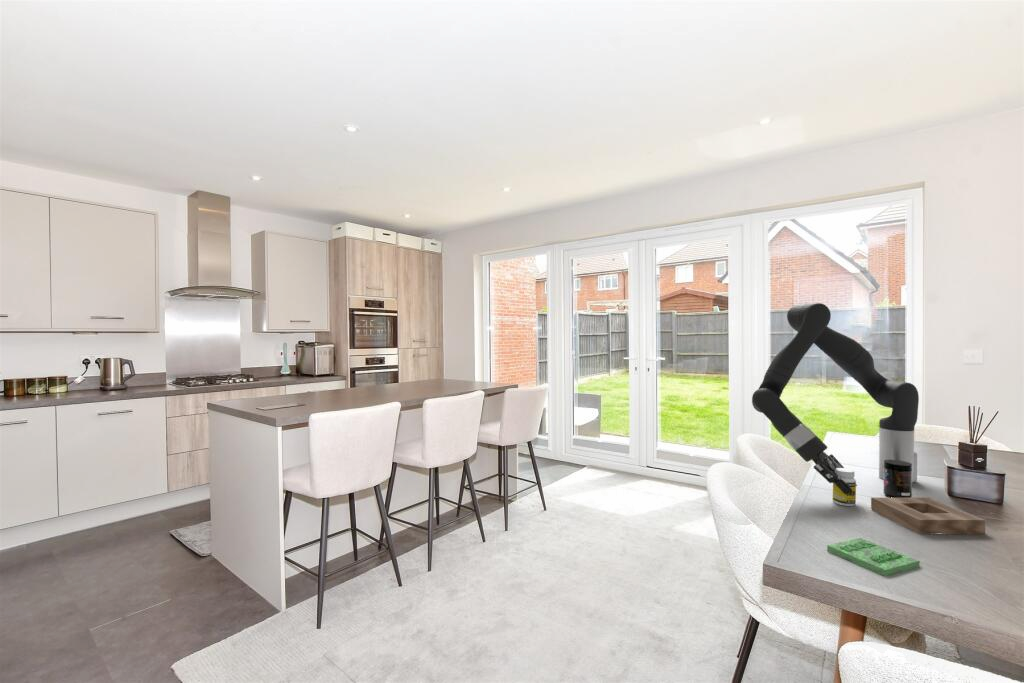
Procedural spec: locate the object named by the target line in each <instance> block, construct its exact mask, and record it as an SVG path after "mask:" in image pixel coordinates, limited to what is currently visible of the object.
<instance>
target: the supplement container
mask: <svg viewBox="0 0 1024 683" xmlns="http://www.w3.org/2000/svg"><path fill="white" fill-rule="evenodd" d="M912 489H913V483H912V464H911V463H909V462H905V461H900V460H884V479H883V494H884V496H886V497H888V496H889V497H888V498H890V497H892V498H913V490H912Z"/></svg>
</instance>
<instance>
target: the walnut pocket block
mask: <svg viewBox="0 0 1024 683" xmlns="http://www.w3.org/2000/svg"><path fill="white" fill-rule="evenodd" d="M871 509H872V510H873V512H874V511H875V512H874V513H876V512H877V513H876V514H878V513H879V515H880V514H881V515H880V516H882V515H883V517H884V516H885V517H884V518H886V517H887V518H886V519H888V518H889V519H888V520H890V519H891V520H890V521H892V520H893V522H894V521H895V523H896V522H897V524H898V523H899V524H898V525H900V526H902V527H904V526H905V527H904V528H907V529H909V530H911V531H912V530H913V531H912V532H915V533H917V534H918V535H935V534H934V533H945V534H944V535H986V519H984V518H982V517H979V516H976V515H974V514H971V513H969V512H966V511H964V510H961V509H958V508H956V507H953V506H951V505H949V504H946V503H944V502H941V501H938V500H936V499H934V498H931V497H911V498H890V497H870V510H871ZM872 510H871V511H872ZM931 533H933V534H931Z"/></svg>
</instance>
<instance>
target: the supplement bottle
mask: <svg viewBox="0 0 1024 683" xmlns="http://www.w3.org/2000/svg"><path fill="white" fill-rule="evenodd" d="M836 469H837V474H838V475H839V476H840V477H841V480H843V481H844V482H845V483H846V484H847V485H848V486H849V487H850V488H851V489H852V491H851V492H850V493H848V494H844V493H843V492H842V491H841V490H840V489H839V488H838V486H837V485H836V484H833V483H832V501H833V502H832V503H835V504H836V505H840V506H844V505H845V506H846V507H853V506H856V502H857V501H856V500H857V495H856V494H857V486H856V484H857V480H856V478H855V475H856V474H855V471H854V470H853V469H851V468H847V467H844V468H836Z"/></svg>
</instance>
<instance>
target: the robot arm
mask: <svg viewBox="0 0 1024 683" xmlns="http://www.w3.org/2000/svg"><path fill="white" fill-rule="evenodd" d="M831 314H832V313H831V310H830V308H829V306H827V305H826V304H824V303H821V302H810V303H809V302H808V303H800V304H796V305H793V306H792V307H789V310H788V311H787V314H786V318H787V322H788V324H789V325H790V327H791V328H792V329H793V330H795V331H796V332H797V333H796V334H795V336H794V337H793V338H792V340H790V342H789V343H788V344H787V345H785V346H784V347H783V348H782V349H781V350H780V351H779V352H778V353H777V354H776V356H774V358H772V361H771V363H770V364H769V366H768V368H767V370H766V371H765V374H764V376H763V380H762V382H761V383H760V385H759V387H758V388H757V389H756V390H755V391H754V392H753V393H752V395H751V396H752V397H751V403H752V407H753V408H754V410H756V411H757V412H758V413H762V414H763V415H764V416H765V417H766V418H767V419H768V420H769V421H770V423H771V424H772V426H773V428H774V429H775V430H776V431H777V432H778V433H779V434H780V435H781V436H782V438H784V439H785V441H786V442H787V444H789V446H790V447H791V448H792V449H793V450H794V451H795V453H797V454H798V455H799V456H800V457H801V459H802V460H803V461H805V462H810V461H811V460H812V461H813V462H814V464H815V465H814V466H813V469H814V470H815V471H816V472H817V473H819V475H821V476H822V477H823V478H824V479H825V480H826V481H827V482H828V483H829V484H832V485H833V484H836V485H837V486H838V488H839V489H840V490H841V491H842V492H843V493H844V494H848V493H850V492H851V491H852V489H851V488H850V487H849V486H848V485H847V484H846V483H845V482H844V481H843V480H841V477H840V476H839V475H838V474H837V469H836V468H845V467H844V466H843V465H842V464H841V462H840V461H839V460H838V459H837V458H836V457H835V456H834V455H833V454H832V453H830V455H828V453H826V452H825V451H826V450H827V449H828V446H827V445H826V444H825V443H824V442H823V441H822V439H820V438H819V437H818V436H817V434H815V433H814V431H813V430H811V429H810V428H809V427H808V426H806V425H805V424H804V423H803V422H802V421H801V420H800V419H799V418H798V417H797V415H795V414H794V413H793V412H792V411H791V410H790V409H789V408H788V406H787V405H786V404H785V403H784V401H782V399H781V396H782V393H783V392H784V389H785V388H786V386H787V385H788V384H789V382H790V380H791V379H792V376H793V375H794V373H795V371H796V369H797V367H798V366H799V364H800V362H801V361H802V359H803V358H804V356H805V355H806V354H807V353H808V351H809V350H810V348H812V346H813V345H815V346H817V348H818V349H819V350H820V351H822V352H823V353H824V354H825V355H827V357H829V358H830V359H831V360H832V361H833V362H834V363H835V364H836V365H837V366H838V367H839V368H841V369H842V370H843V371H845V372H846V374H848V376H851V377H852V379H854V380H855V381H856V382H857V383H858V384H859V385H860V386H861V387H862V388H863V389H864V390H865V391H866V392H867V394H869V396H870V397H871V398H872V399H873V400H874V401H875V402H876V403H877V404H878V405H880V406H882V407H886V408H891V415H889V416H887V417H883V418H880V419H879V422H878V423H879V424H878V425H879V427H878V429H879V430H878V431H879V434H878V435H879V438H878V439H879V440H878V441H879V442H878V443H879V444H878V446H879V448H878V449H879V450H878V477H879V478H880V479H882V480H884V460H900V461H905V462H909V463H911V464H912V484H913V483H917V482H918V453H917V452H915V426H916V424H917V421H918V415H919V402H920V401H919V400H920V399H919V398H920V397H919V391H918V389H917V387H916V386H915V385H914V384H912V383H910V382H906V381H896V380H889V379H888V378H886V377H884V376H883V375H882V374H881V373H879V372H878V370H876V368H875V363H874V359H873V356H872V354H871V353H870V352H869V350H867V349H866V348H865V347H863V346H862V345H861V344H860V342H857V340H855V339H853V338H851V337H849V336H847V335H845V334H843V333H840V332H838V331H837V330H834V329H832V328H830V327H828V325H829V323H830V321H831V319H832V318H831V316H832V315H831ZM856 487H858V484H857V483H856Z"/></svg>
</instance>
